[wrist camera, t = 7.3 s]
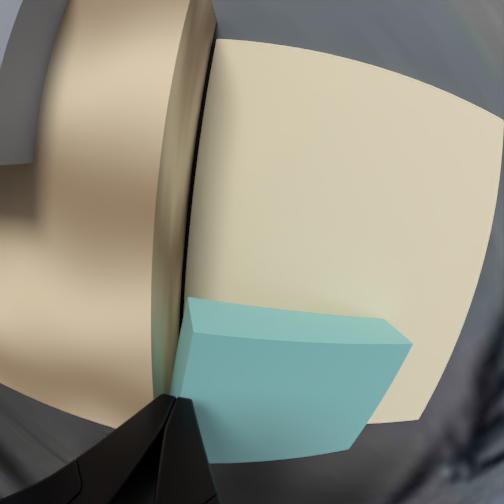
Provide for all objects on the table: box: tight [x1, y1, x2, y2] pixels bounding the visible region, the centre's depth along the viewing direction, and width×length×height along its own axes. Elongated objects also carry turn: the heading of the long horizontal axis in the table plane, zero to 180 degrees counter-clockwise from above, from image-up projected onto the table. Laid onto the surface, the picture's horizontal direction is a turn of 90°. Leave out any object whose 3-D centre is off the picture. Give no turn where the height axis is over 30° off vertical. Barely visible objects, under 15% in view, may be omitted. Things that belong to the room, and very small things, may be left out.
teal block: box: [169, 297, 413, 463], centre depth 11 cm, size 6×8×2 cm
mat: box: [183, 39, 504, 424], centre depth 12 cm, size 16×13×1 cm
